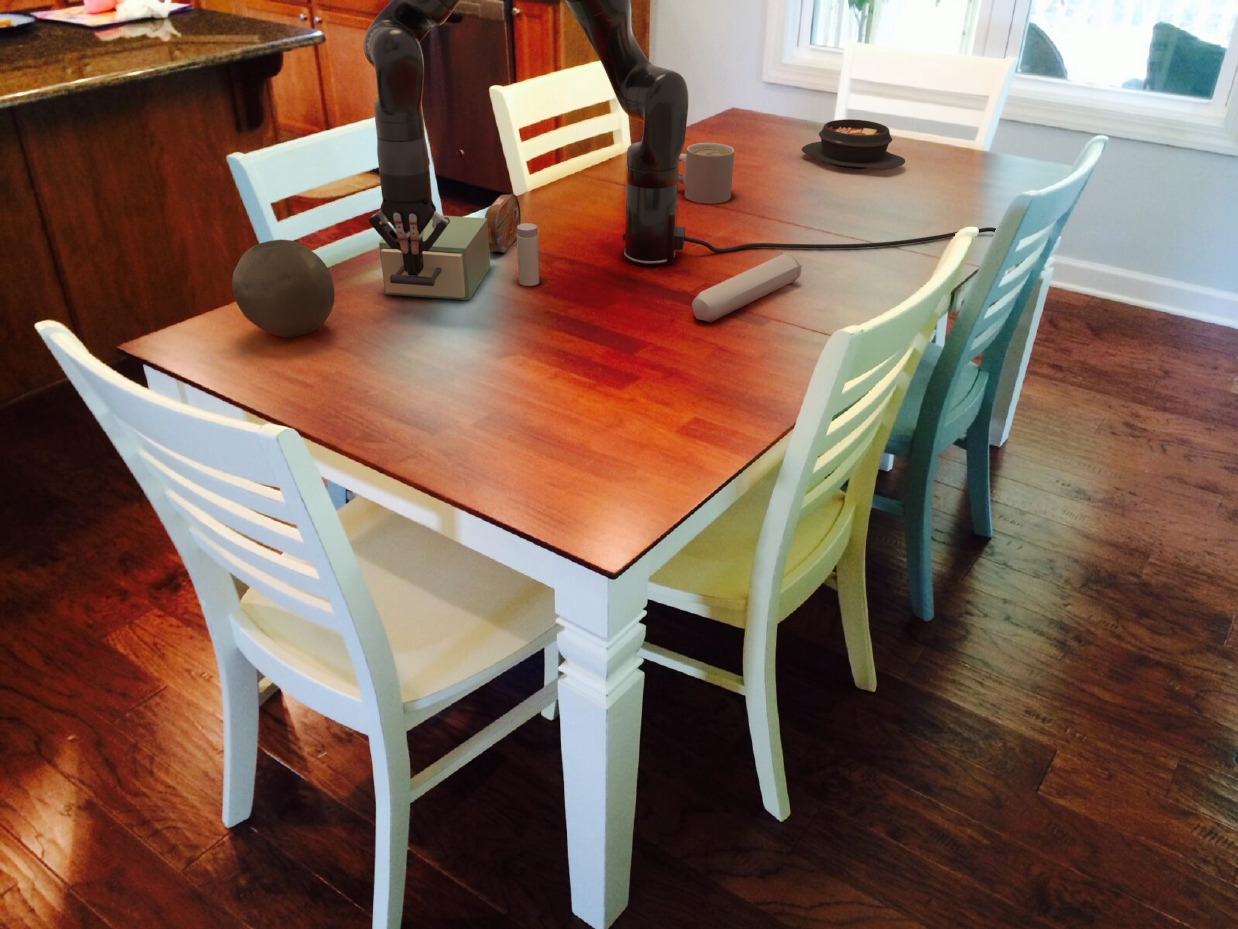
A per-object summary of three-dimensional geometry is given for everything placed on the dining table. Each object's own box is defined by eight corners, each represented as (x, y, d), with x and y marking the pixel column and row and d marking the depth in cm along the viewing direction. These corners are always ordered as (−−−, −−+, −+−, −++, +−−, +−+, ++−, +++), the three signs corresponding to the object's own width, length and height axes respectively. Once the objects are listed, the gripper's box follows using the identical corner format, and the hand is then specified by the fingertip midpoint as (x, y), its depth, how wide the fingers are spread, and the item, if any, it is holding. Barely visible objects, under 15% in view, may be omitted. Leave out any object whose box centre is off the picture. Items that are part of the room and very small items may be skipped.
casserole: (785, 161, 235) (789, 125, 231) (824, 145, 247) (828, 110, 243) (881, 183, 222) (887, 145, 218) (917, 164, 234) (924, 128, 230)
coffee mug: (738, 194, 214) (742, 147, 208) (716, 206, 207) (720, 158, 201) (684, 183, 220) (687, 137, 214) (662, 194, 213) (663, 147, 207)
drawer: (454, 312, 159) (450, 269, 155) (374, 306, 161) (368, 263, 157) (483, 267, 175) (481, 227, 171) (410, 262, 176) (406, 222, 172)
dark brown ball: (263, 315, 159) (245, 225, 151) (350, 318, 159) (337, 227, 150) (231, 355, 147) (210, 260, 139) (325, 358, 147) (310, 263, 139)
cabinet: (469, 300, 165) (465, 248, 160) (385, 294, 167) (378, 242, 162) (490, 267, 177) (487, 218, 172) (411, 262, 179) (406, 213, 174)
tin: (499, 259, 181) (497, 214, 176) (483, 257, 181) (480, 212, 177) (522, 231, 193) (521, 188, 188) (507, 229, 194) (505, 187, 189)
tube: (715, 307, 155) (806, 263, 170) (691, 287, 157) (783, 246, 172) (705, 333, 159) (794, 287, 174) (681, 313, 161) (772, 270, 176)
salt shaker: (541, 278, 173) (539, 223, 168) (537, 286, 171) (535, 230, 165) (521, 277, 174) (518, 222, 168) (516, 285, 171) (514, 229, 165)
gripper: (353, 170, 147) (367, 280, 157) (439, 175, 146) (448, 285, 155) (370, 156, 153) (382, 262, 163) (453, 161, 152) (460, 268, 161)
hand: (414, 273), depth 159 cm, fingers closed
